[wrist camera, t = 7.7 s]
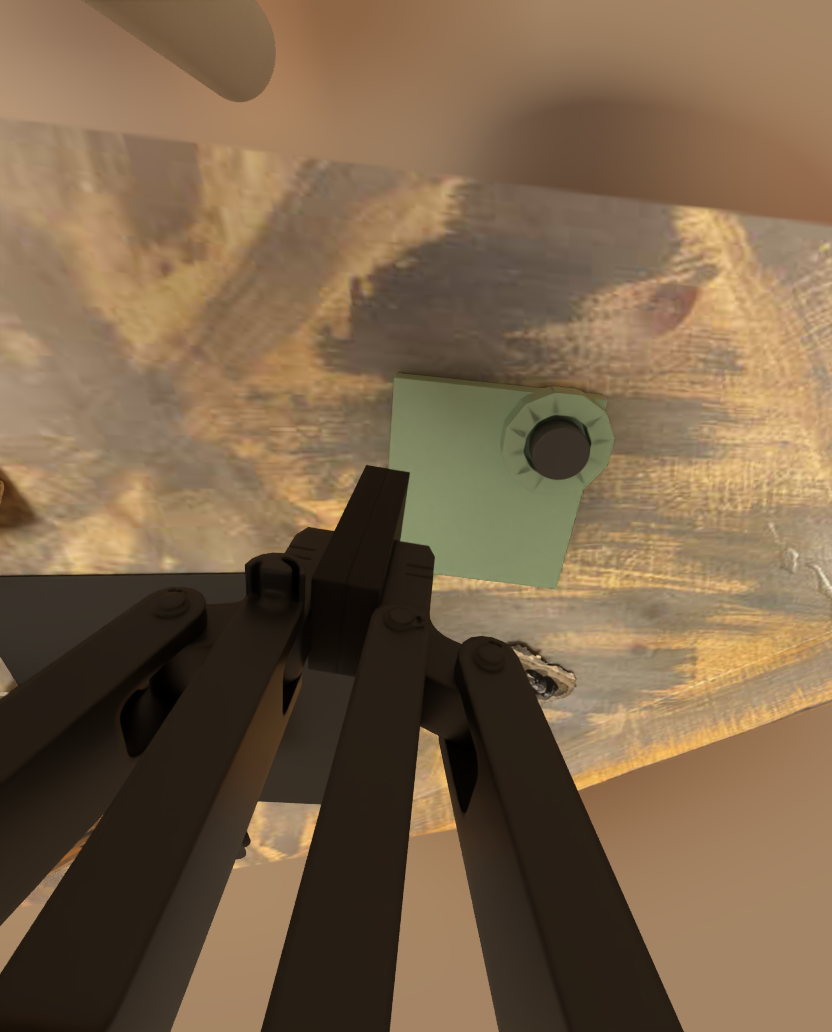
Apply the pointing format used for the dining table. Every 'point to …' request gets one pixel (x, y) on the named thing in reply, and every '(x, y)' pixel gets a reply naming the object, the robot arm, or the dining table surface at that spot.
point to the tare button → (559, 449)
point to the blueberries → (545, 677)
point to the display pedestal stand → (100, 599)
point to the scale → (490, 474)
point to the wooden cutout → (1, 490)
